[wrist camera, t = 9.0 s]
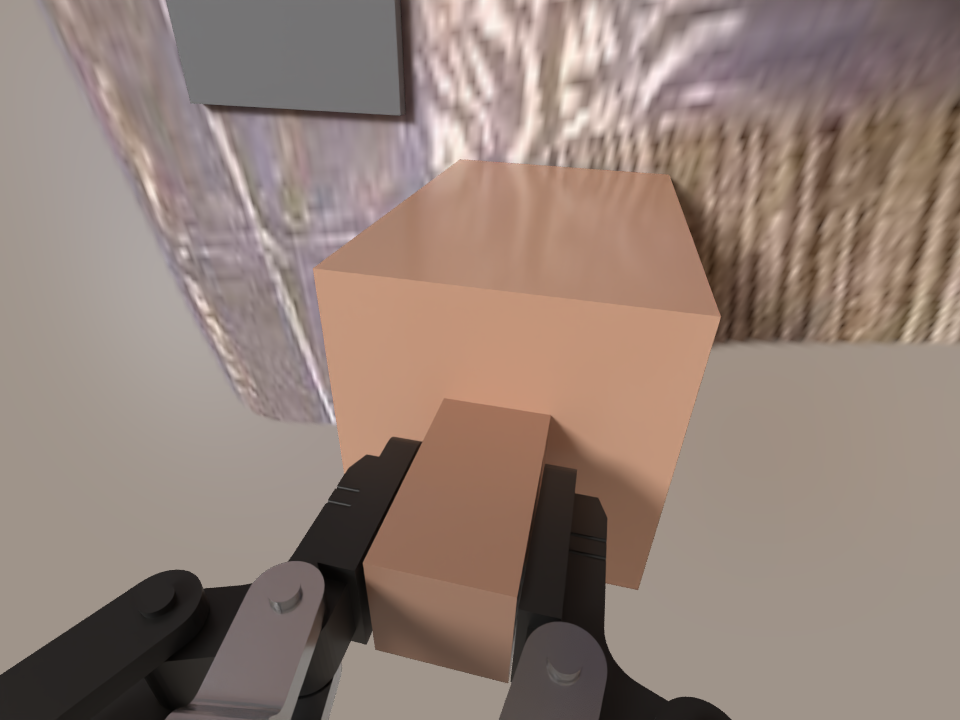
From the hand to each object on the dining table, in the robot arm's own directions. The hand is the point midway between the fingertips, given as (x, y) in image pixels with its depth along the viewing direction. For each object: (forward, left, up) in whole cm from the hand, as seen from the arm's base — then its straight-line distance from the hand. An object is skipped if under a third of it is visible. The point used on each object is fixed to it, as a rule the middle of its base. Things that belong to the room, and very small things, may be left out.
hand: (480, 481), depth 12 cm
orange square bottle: (0, 0, -14) cm, 14 cm away
